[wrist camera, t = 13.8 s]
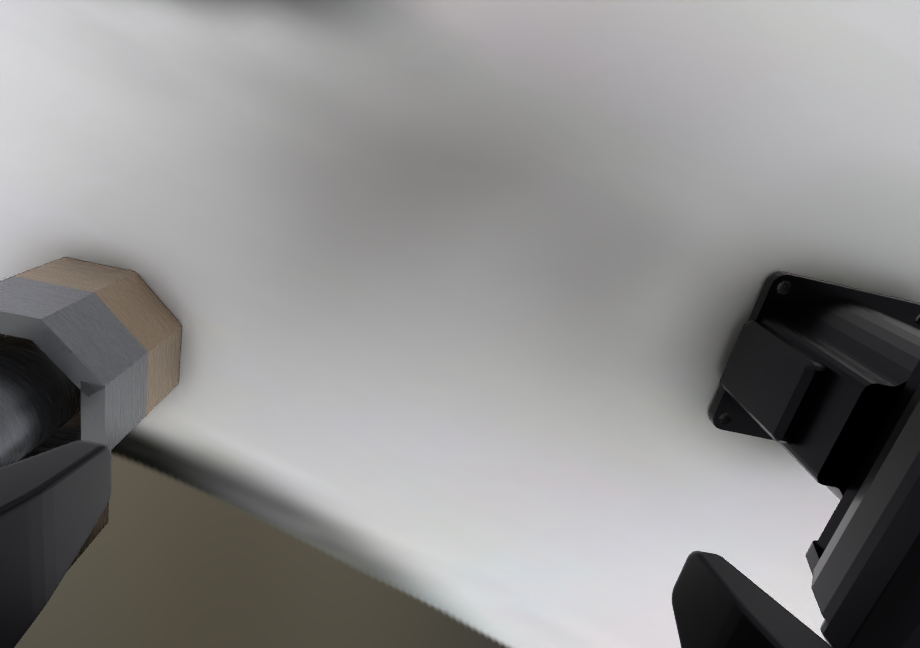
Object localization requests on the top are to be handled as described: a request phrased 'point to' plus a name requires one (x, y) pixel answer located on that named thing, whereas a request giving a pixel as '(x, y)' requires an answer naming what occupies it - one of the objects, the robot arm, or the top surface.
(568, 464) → the top surface
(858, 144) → the top surface
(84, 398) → the bronze hinge
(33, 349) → the hinge pin
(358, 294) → the top surface
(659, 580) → the top surface
